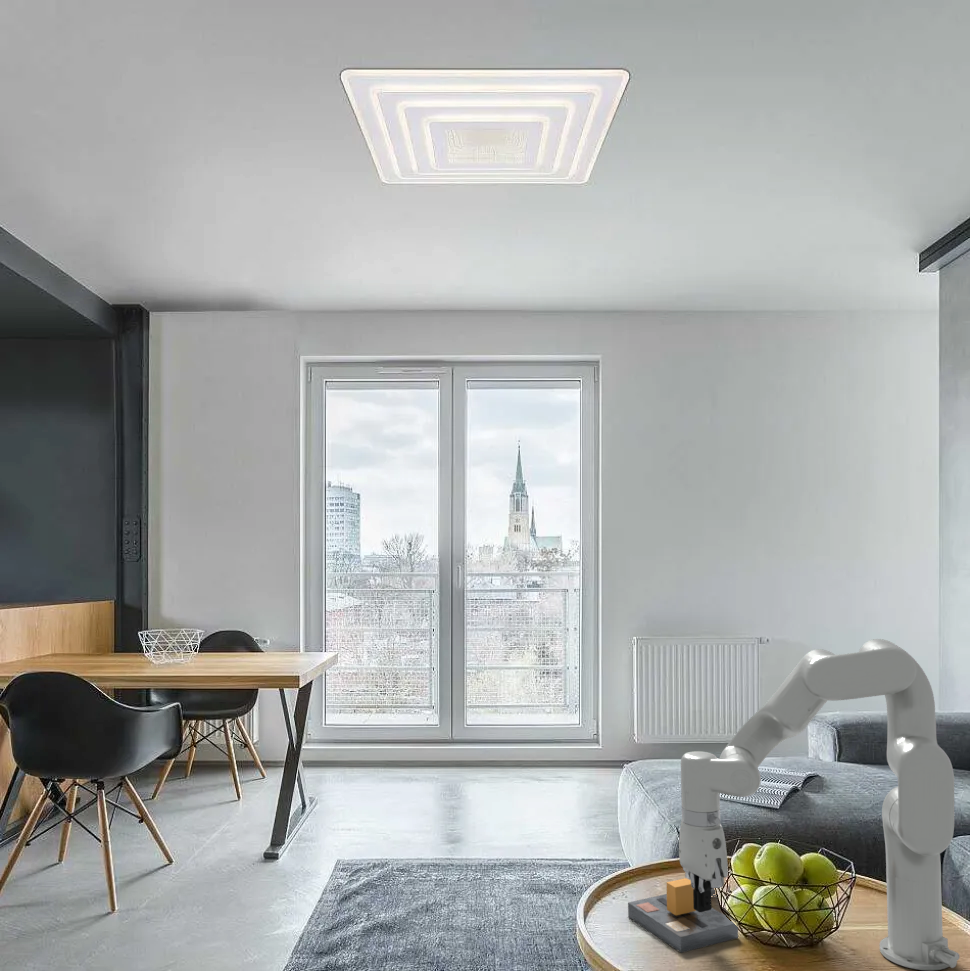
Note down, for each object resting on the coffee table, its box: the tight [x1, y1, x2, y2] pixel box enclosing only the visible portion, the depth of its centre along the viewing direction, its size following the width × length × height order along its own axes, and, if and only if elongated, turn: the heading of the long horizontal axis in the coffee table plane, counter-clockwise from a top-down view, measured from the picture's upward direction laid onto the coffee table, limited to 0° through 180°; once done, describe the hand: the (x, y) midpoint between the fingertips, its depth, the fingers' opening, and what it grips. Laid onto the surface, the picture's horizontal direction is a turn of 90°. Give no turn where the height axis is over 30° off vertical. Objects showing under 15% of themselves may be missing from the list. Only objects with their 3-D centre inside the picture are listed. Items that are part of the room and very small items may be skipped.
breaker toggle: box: [665, 877, 696, 915], centre depth 191 cm, size 3×5×6 cm, turn 115°
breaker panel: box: [627, 893, 739, 954], centre depth 190 cm, size 18×14×3 cm
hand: (702, 909), depth 184 cm, fingers closed
